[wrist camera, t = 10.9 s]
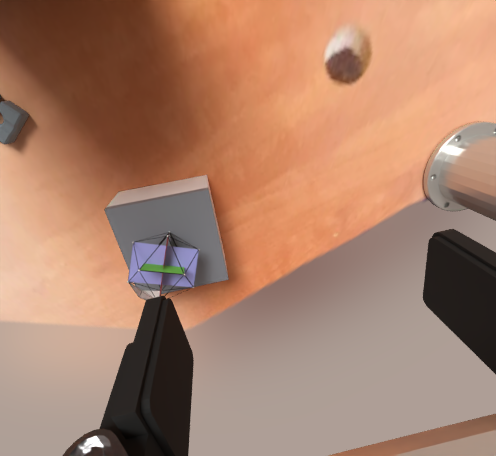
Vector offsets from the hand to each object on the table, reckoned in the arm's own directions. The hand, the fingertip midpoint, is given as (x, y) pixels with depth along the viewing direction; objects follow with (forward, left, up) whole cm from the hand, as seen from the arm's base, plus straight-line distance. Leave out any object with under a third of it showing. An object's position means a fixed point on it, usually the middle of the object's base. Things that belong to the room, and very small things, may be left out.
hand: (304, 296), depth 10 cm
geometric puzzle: (+9, +9, -22) cm, 26 cm away
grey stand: (+9, +8, -28) cm, 31 cm away
